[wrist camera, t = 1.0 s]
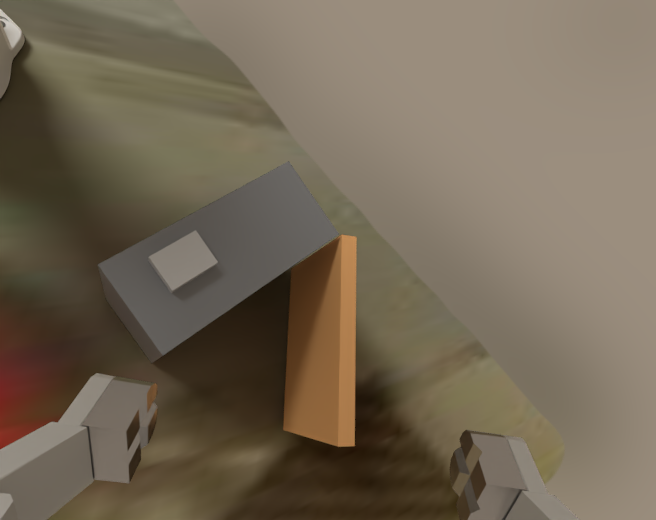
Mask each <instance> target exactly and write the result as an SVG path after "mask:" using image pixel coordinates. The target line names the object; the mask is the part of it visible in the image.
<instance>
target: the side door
mask: <svg viewBox="0 0 656 520" xmlns="http://www.w3.org/2000/svg"><path fill="white" fill-rule="evenodd" d="M355 350H356V237H353V236H347V235H340V236H339V237H338V238H336V239H335V240H333V241H332V242H330V243H329V244H327V245H326V246H324V247H323V248H321V249H320V250H318V251H317V252H315V253H314V254H313V255H311V256H310V257H308V258H307V259H305V260H304V261H302V262H301V263H299V264H298V265H296V266H295V267H293V268H292V269H291V283H290V303H289V323H288V343H287V363H286V383H285V402H284V422H283V430H285V431H288V432H291V433H295V434H298V435H301V436H305V437H308V438H311V439H314V440H318V441H321V442H324V443H328V444H331V445H334V446H337V447H343V446H355Z"/></svg>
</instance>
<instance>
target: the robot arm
mask: <svg viewBox="0 0 656 520" xmlns="http://www.w3.org/2000/svg"><path fill="white" fill-rule="evenodd" d="M3 26H5V27H4V28H3ZM24 42H25V38H24V35H23V33H22V31H21V29H20V28H19V27H18V26H17V25H16V24H15V23H14V22H13V21H12V20H11V19H10V18H9V17H8V16H7V15H6V14H5V13H4V12H3V11H2V10H1V9H0V98H1V97H2V96H3V94H4V93H5V91H6V89H7V87H8V84H9V81H10V75H11V65H12V61H13V58H14V57H15V56H16V55H17V53H18V52H19V51H20V50H21V48H22V47H23V45H24ZM156 395H157V384H155V383H152V382H146V381H140V380H135V379H129V378H123V377H118V376H110V375H104V374H99V373H96V374H95V375H93V376H92V377H90V379H89V380H88V382H87V383H86V384H85V386H84V387H83V388H82V390H81V391H80V393H79V394H78V395H77V397H76V398H75V399H74V401H73V402H72V404H71V405H70V406H69V408H68V409H67V410H66V412H65V413H64V414H63V416H62V417H61V419H60V420H59V421H58V423H57V422H50V423H48V424H47V425H45V426H43V427H41V428H39V429H37V430H35V431H34V432H32V433H30V434H28V435H26V436H24V437H23V438H21V439H19V440H17V441H15V442H13V443H11V444H10V445H8V446H6V447H4V448H2V449H0V520H47V519H48V518H49V517H50V516H52V515H53V514H54V513H55V512H57V511H58V510H59V509H60V508H61V507H63V506H64V505H65V504H66V503H68V502H69V501H70V500H71V499H73V498H74V497H75V496H76V495H77V494H79V493H80V492H81V491H82V490H84V489H85V488H86V487H87V486H89V485H90V484H91V483H92V482H93V479H95V480H104V481H113V482H122V483H130V481H131V479H132V477H133V475H134V473H135V471H136V468H137V466H138V464H139V462H140V460H141V448H143V447H144V446H146V445H147V444H148V443H149V441H150V439H151V436H152V434H153V431H154V428H155V424H156V420H157V406H156V404H155V403H154V402H153V401H154V399H155V397H156ZM460 443H461V447H460V448H458V449H457V450H455V451H454V453H453V456H452V458H451V463H450V480H451V484H452V488H453V490H454V491H455V492H456V493H457V494H458V495H459V496H460V497H459V499H458V502H457V504H456V506H457V510H458V515H459V519H460V520H580V519H579V518H578V517H576V515H574V514H573V513H572V512H571V511H570V510H569V509H568V508H567V507H566V506H565V505H564V504H563V503H562V502H561V501H560V500H559V499H558V498H557V497H556V496H555V495H550V494H548V492H547V490H546V487H545V485H544V483H543V480H542V478H541V476H540V474H539V471H538V469H537V467H536V465H535V462H534V460H533V458H532V456H531V453H530V451H529V449H528V447H527V444H526V442H525V441H524V440H523V439H522V438H519V437H512V436H505V435H499V434H492V433H485V432H477V431H470V430H465V431H464V432H463V433H462V435H461V437H460Z"/></svg>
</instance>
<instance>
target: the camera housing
mask: <svg viewBox="0 0 656 520" xmlns="http://www.w3.org/2000/svg"><path fill="white" fill-rule="evenodd" d="M338 234H339V233H338V232H337V231H336V229H335V228H334V226H333V225H332V223H331V222H330V220H329V219H328V217H327V216H326V215H325V213H324V212H323V210H322V209H321V207H320V206H319V204H318V203H317V201H316V200H315V199H314V197H313V196H312V194H311V193H310V191H309V190H308V188H307V187H306V186H305V184H304V183H303V181H302V180H301V178H300V177H299V175H298V174H297V172H296V171H295V170H294V168H293V167H292V165H291V164H290V162H289V161H288V162H286V163H284V164H283V165H281V166H279V167H277V168H275V169H273V170H272V171H270V172H268V173H266V174H264V175H262V176H260V177H259V178H257V179H255V180H253V181H251V182H249V183H247V184H246V185H244V186H242V187H240V188H238V189H236V190H235V191H233V192H231V193H229V194H227V195H225V196H223V197H222V198H220V199H218V200H216V201H214V202H212V203H210V204H209V205H207V206H205V207H203V208H201V209H199V210H198V211H196V212H194V213H192V214H190V215H188V216H186V217H185V218H183V219H181V220H179V221H177V222H175V223H173V224H172V225H170V226H168V227H166V228H164V229H162V230H161V231H159V232H157V233H155V234H153V235H151V236H149V237H148V238H146V239H144V240H142V241H140V242H138V243H137V244H135V245H133V246H131V247H129V248H127V249H125V250H124V251H122V252H120V253H118V254H116V255H114V256H112V257H111V258H109V259H107V260H105V261H103V262H101V263H100V264H98V268H99V272H100V277H101V281H102V285H103V290H104V294H105V298H106V300H107V302H108V303H109V304H110V306H111V307H112V309H113V310H114V311H115V313H116V314H117V316H118V317H119V318H120V320H121V321H122V323H123V324H124V325H125V327H126V328H127V330H128V331H129V332H130V334H131V335H132V337H133V338H134V339H135V341H136V342H137V344H138V345H139V346H140V348H141V349H142V351H143V352H144V353H145V355H146V356H147V358H148V359H149V360H150V362H151V363H153V362H154V361H156V360H157V359H159V358H160V357H162V356H163V355H165V354H166V353H167V352H169V351H170V350H172V349H173V348H175V347H176V346H178V345H179V344H180V343H182V342H183V341H185V340H186V339H188V338H189V337H191V336H192V335H193V334H195V333H196V332H198V331H199V330H201V329H202V328H204V327H205V326H207V325H208V324H209V323H211V322H212V321H214V320H215V319H217V318H218V317H220V316H221V315H222V314H224V313H225V312H227V311H228V310H230V309H231V308H233V307H234V306H235V305H237V304H238V303H240V302H241V301H243V300H244V299H246V298H247V297H249V296H250V295H251V294H253V293H254V292H256V291H257V290H259V289H260V288H262V287H263V286H264V285H266V284H267V283H269V282H270V281H272V280H273V279H275V278H276V277H277V276H279V275H280V274H282V273H283V272H285V271H286V270H288V269H289V268H291V267H292V266H293V265H295V264H296V263H298V262H299V261H301V260H302V259H304V258H305V257H306V256H308V255H309V254H311V253H312V252H314V251H315V250H317V249H318V248H319V247H321V246H322V245H324V244H325V243H327V242H328V241H330V240H331V239H332V238H334V237H335V236H337V235H338Z"/></svg>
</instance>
